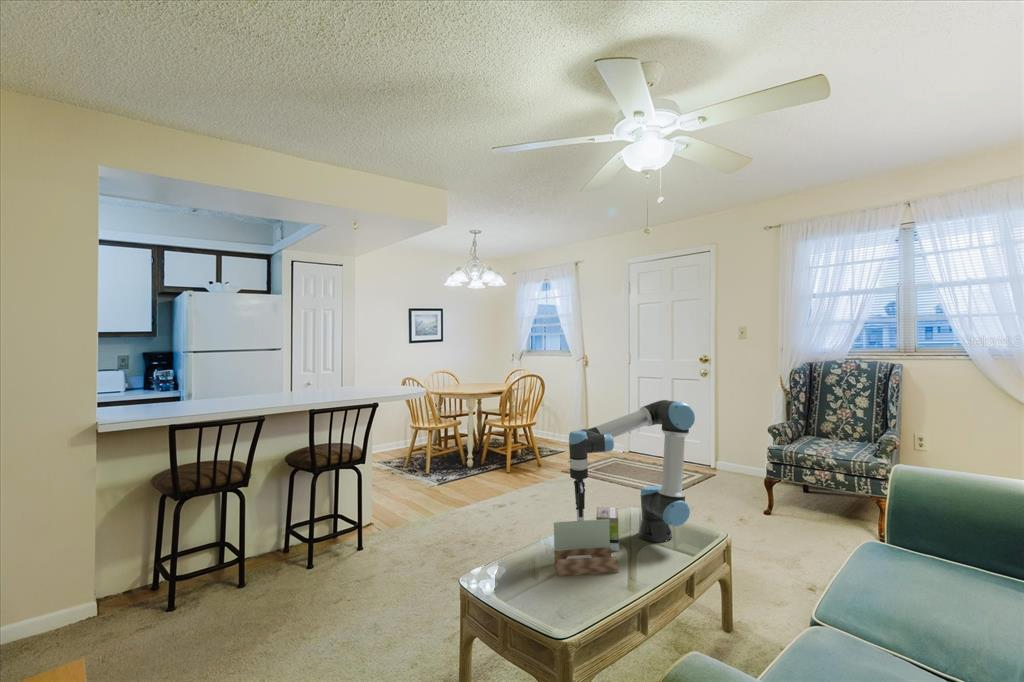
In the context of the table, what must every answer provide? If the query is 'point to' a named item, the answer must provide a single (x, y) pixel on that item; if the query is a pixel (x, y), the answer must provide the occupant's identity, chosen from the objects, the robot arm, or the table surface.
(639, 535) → the robot arm
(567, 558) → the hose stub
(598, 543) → the cover
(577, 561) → the tissue box
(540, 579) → the table surface
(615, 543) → the tea box
